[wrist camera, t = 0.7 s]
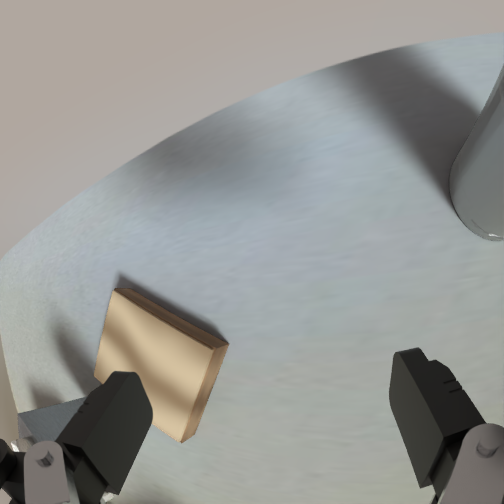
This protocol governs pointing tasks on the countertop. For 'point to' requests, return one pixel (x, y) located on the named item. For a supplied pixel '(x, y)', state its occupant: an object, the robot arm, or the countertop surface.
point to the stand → (161, 359)
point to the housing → (45, 423)
